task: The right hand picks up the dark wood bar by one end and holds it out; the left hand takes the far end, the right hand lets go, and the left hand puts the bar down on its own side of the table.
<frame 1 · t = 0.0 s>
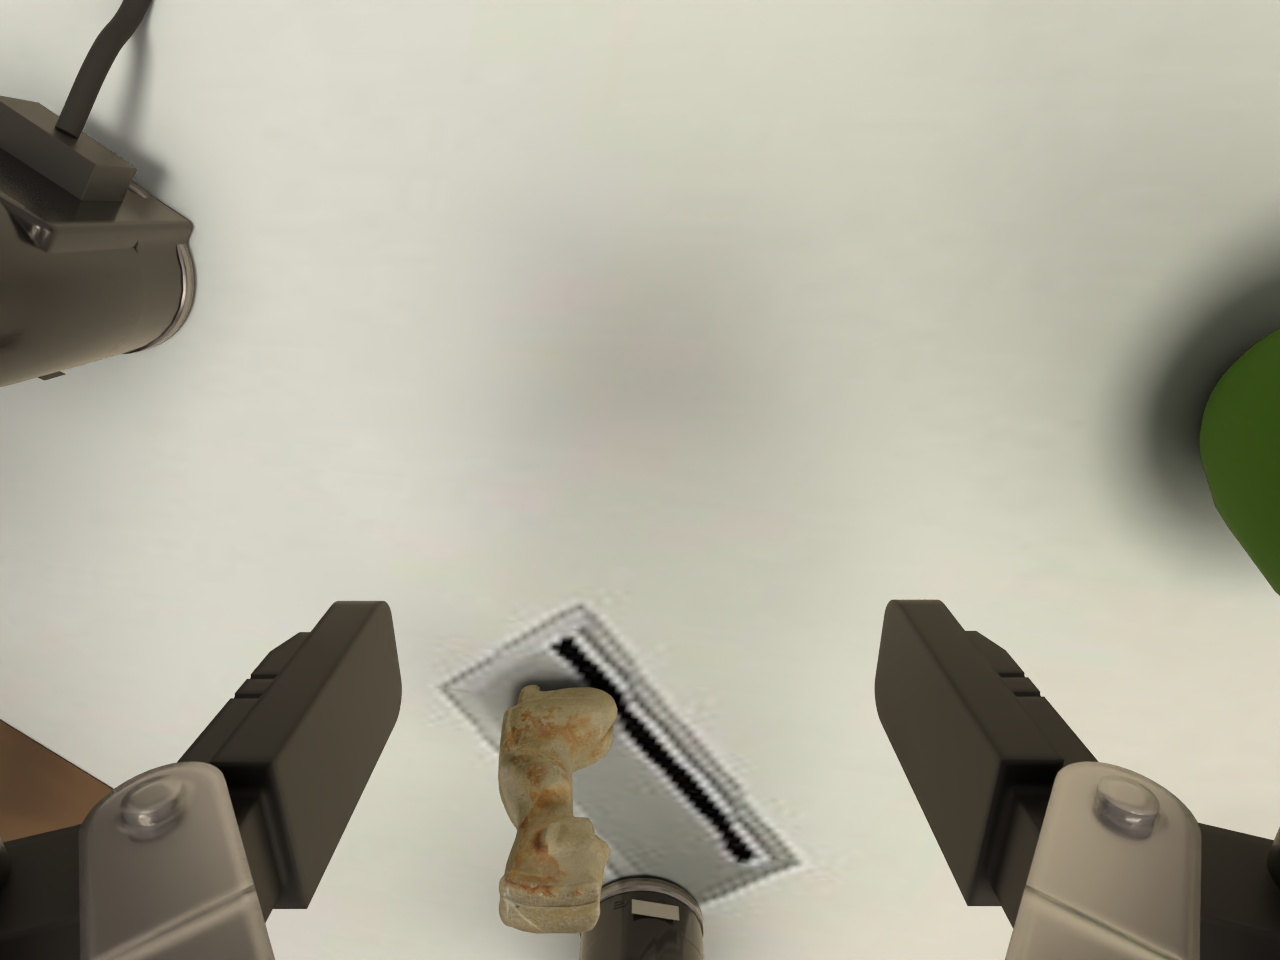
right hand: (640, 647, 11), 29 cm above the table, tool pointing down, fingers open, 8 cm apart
vase: (1271, 405, 40), on the table
sculpture: (563, 703, 48), on the table
bar: (21, 765, 49), on the table
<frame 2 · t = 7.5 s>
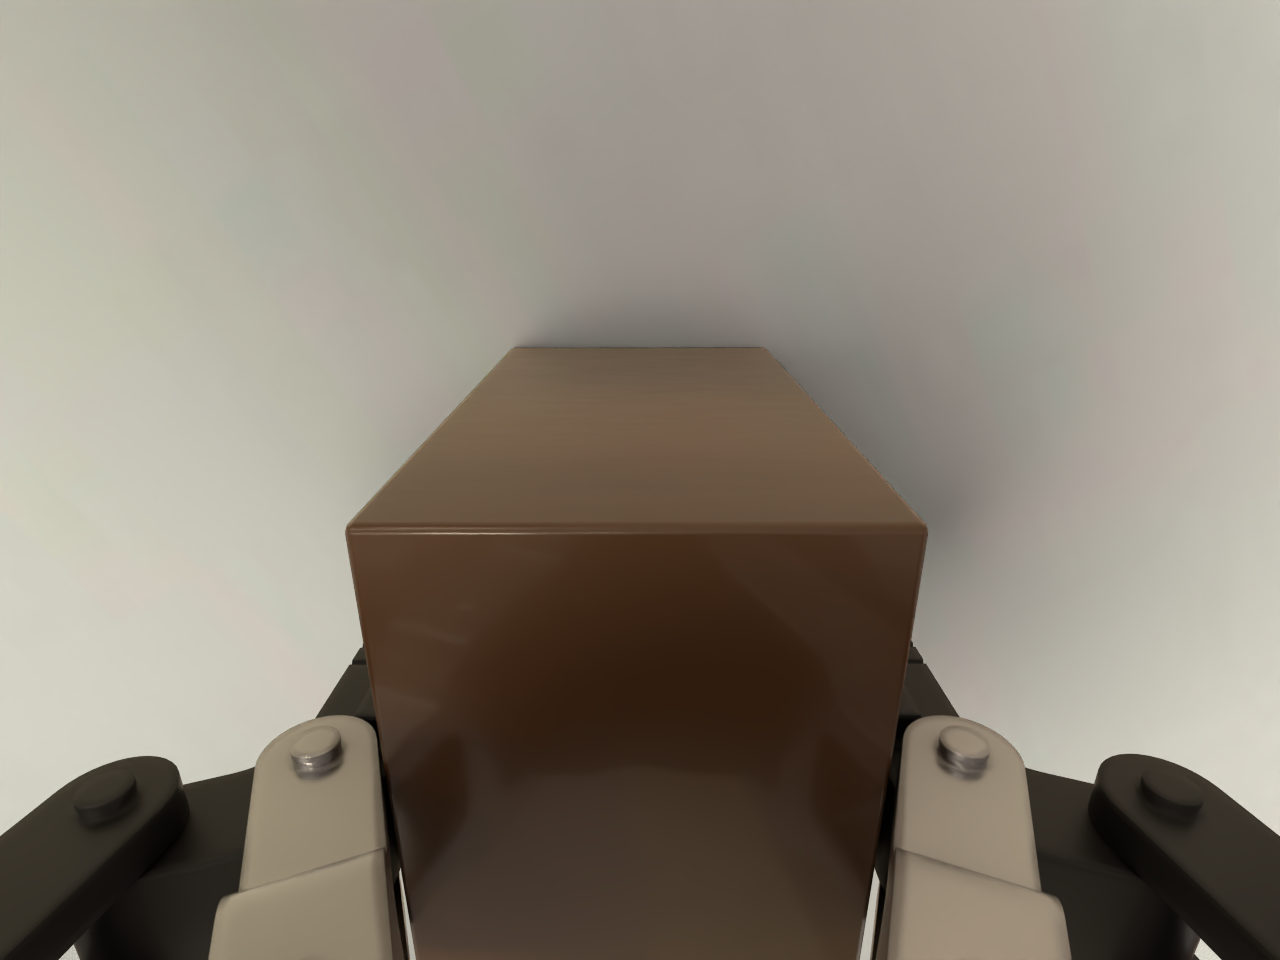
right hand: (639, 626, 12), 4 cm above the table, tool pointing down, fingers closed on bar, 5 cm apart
bar: (639, 780, 19), on the table, touching right hand
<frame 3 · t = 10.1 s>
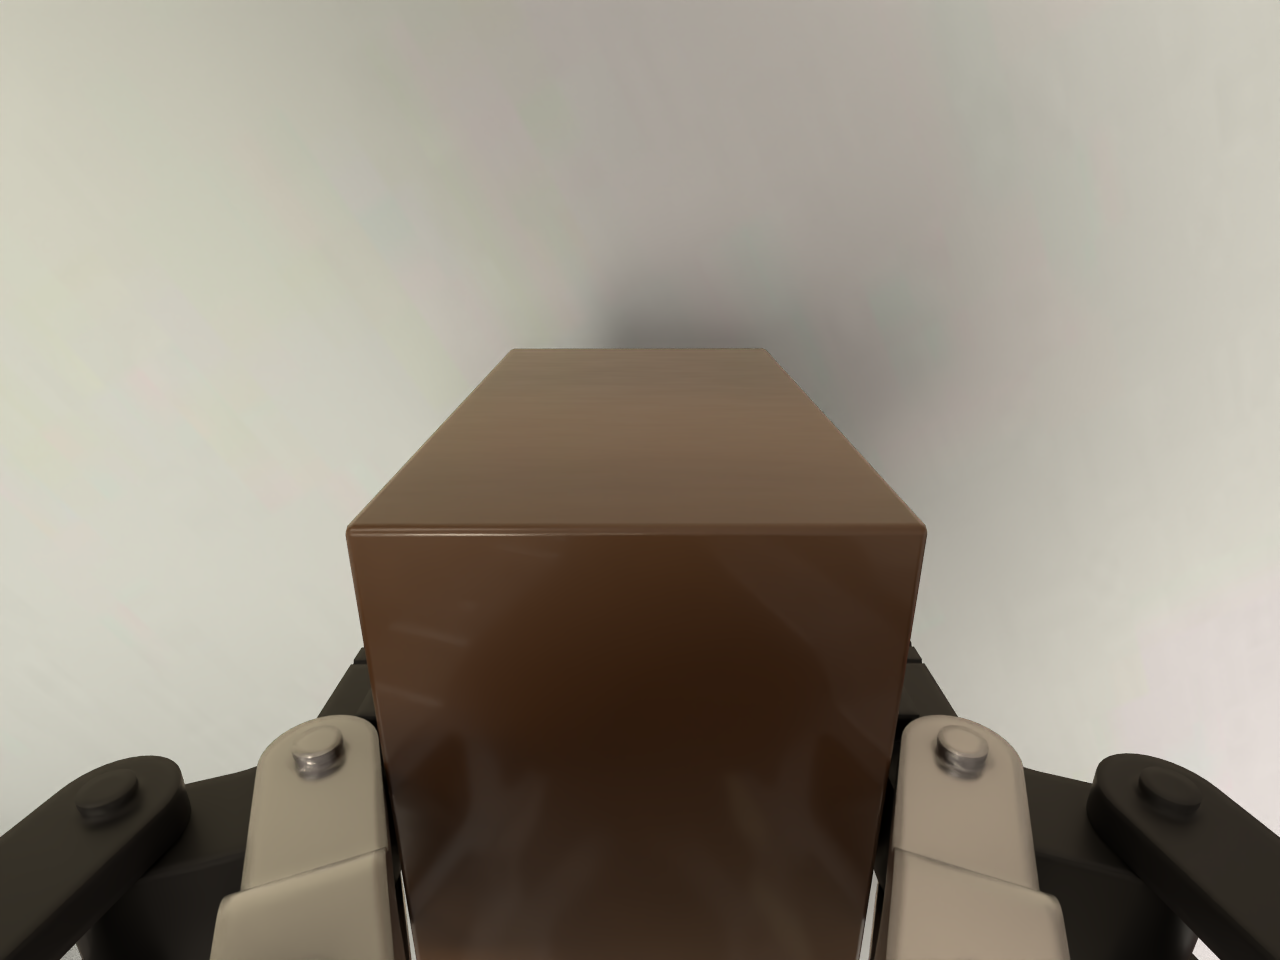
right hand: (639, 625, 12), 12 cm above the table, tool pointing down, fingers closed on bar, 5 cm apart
bar: (639, 780, 19), point 7 cm above the table, touching right hand
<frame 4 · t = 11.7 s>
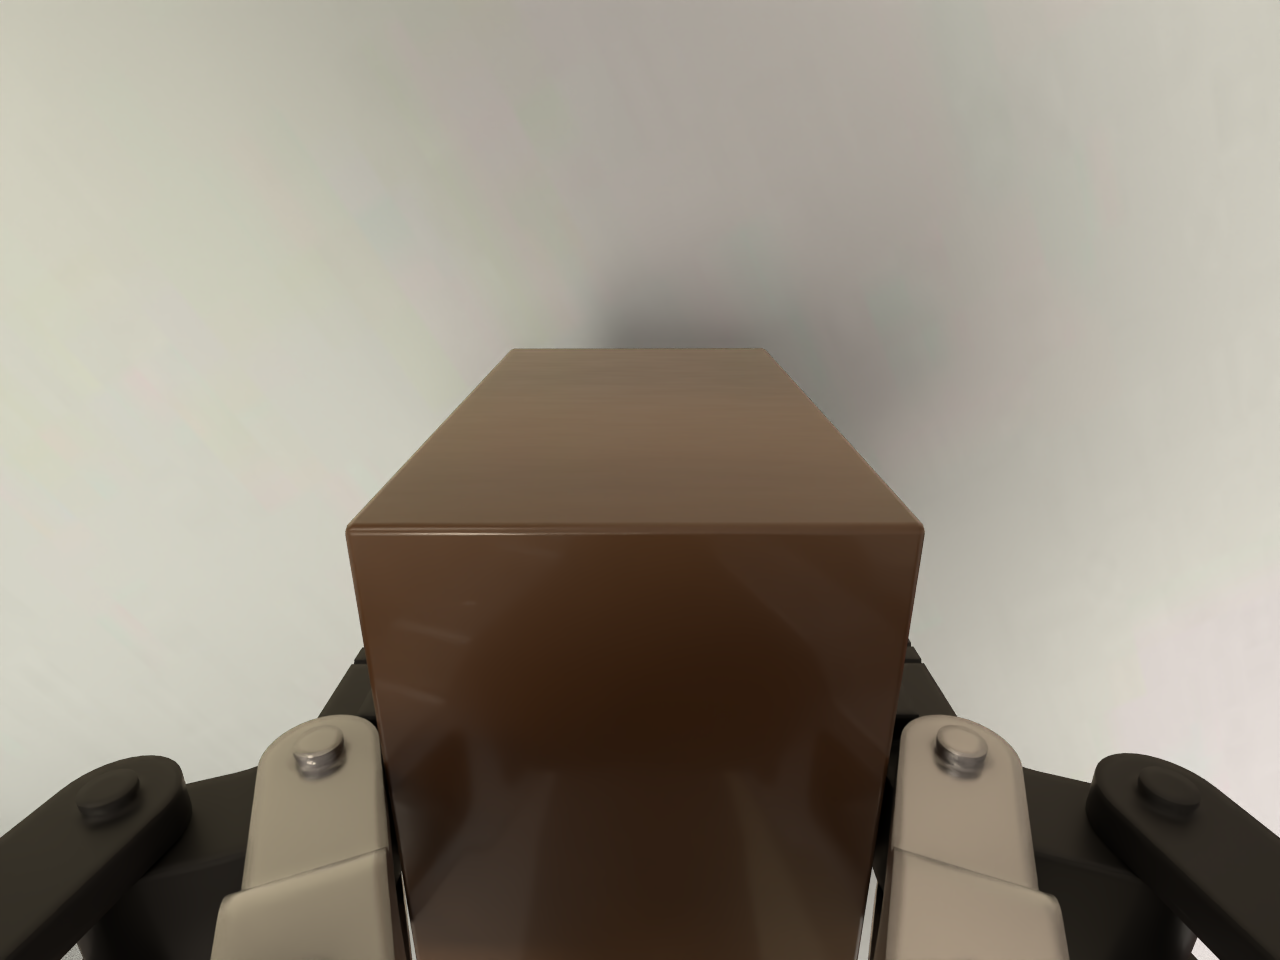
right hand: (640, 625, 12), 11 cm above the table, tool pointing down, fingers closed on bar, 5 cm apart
bar: (639, 779, 19), point 7 cm above the table, touching right hand, left hand
when the right hand's fingers open (12 cm above the table, at t = 12.6 s): bar stays where it is, held by the left hand.
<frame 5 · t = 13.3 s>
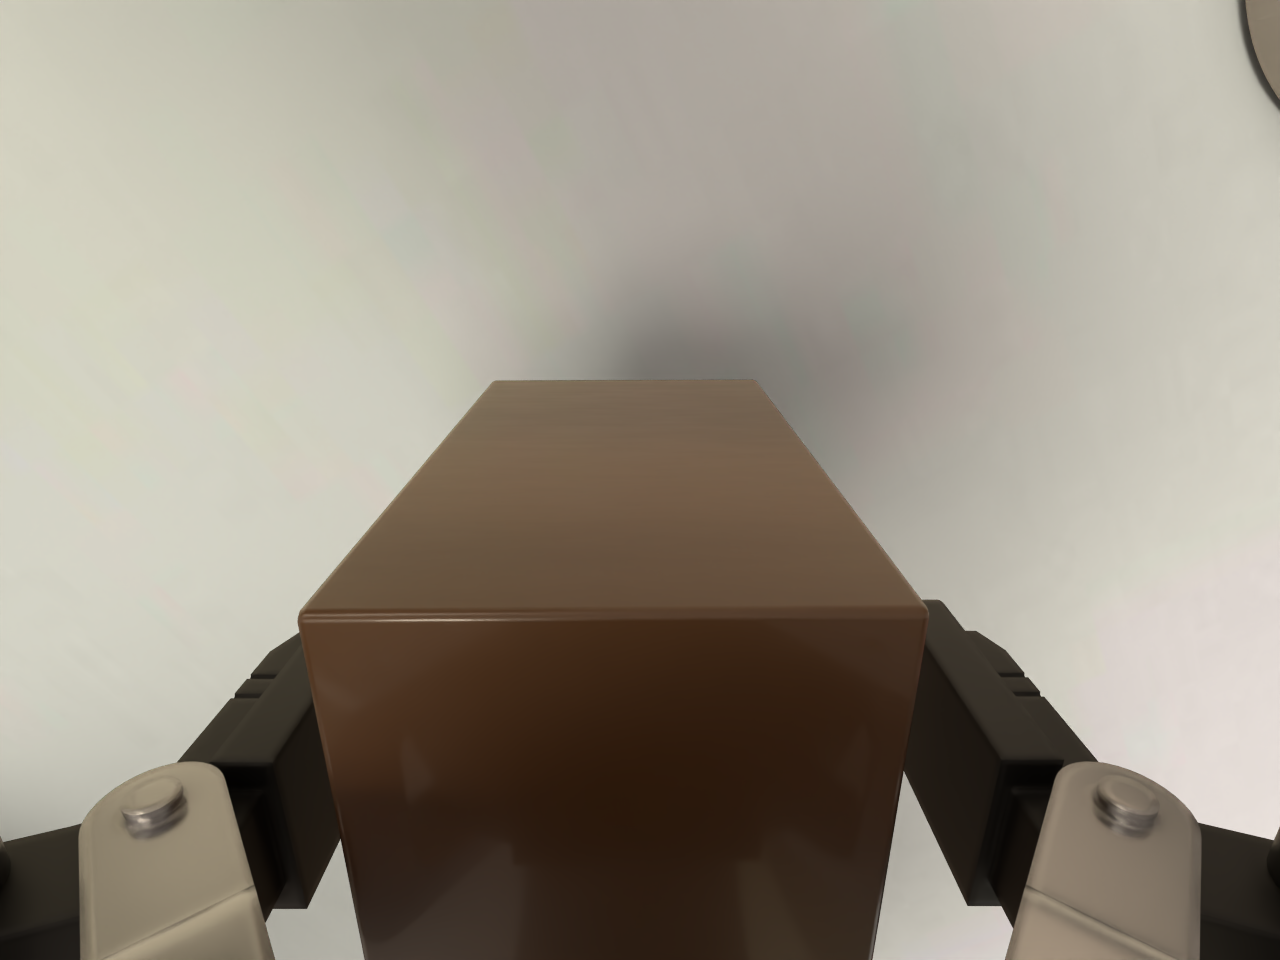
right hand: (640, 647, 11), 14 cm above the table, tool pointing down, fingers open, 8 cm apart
bar: (628, 818, 18), point 10 cm above the table, touching left hand
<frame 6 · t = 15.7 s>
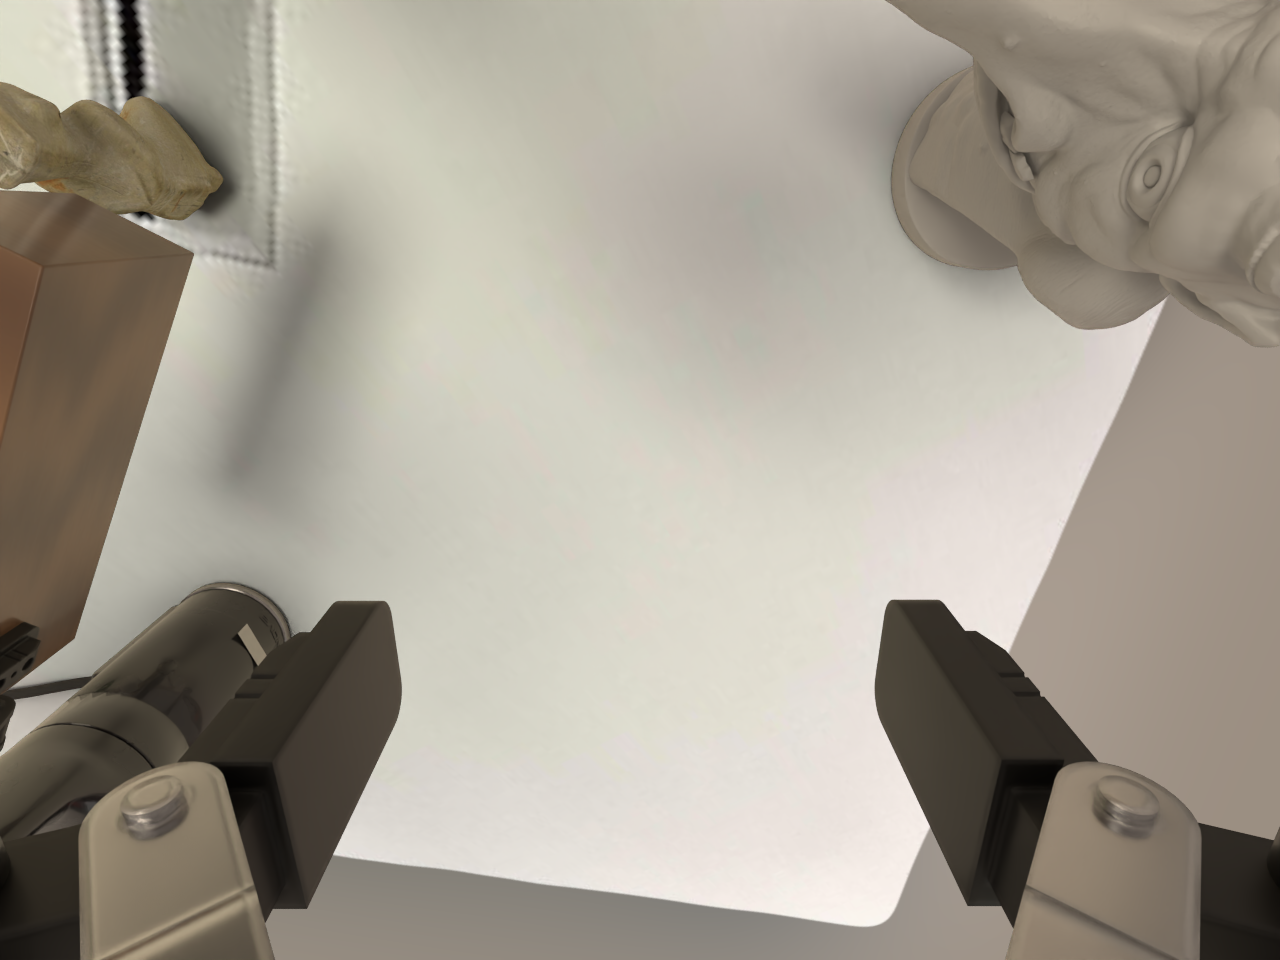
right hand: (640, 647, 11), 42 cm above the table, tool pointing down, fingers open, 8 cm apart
bust sculpture: (928, 165, 47), on the table
sculpture: (181, 162, 47), on the table
bar: (75, 441, 35), point 18 cm above the table, touching left hand
when the left hand's fingers open (5 cm above the table, at t = 20.3 s): bar stays where it is, on the table.
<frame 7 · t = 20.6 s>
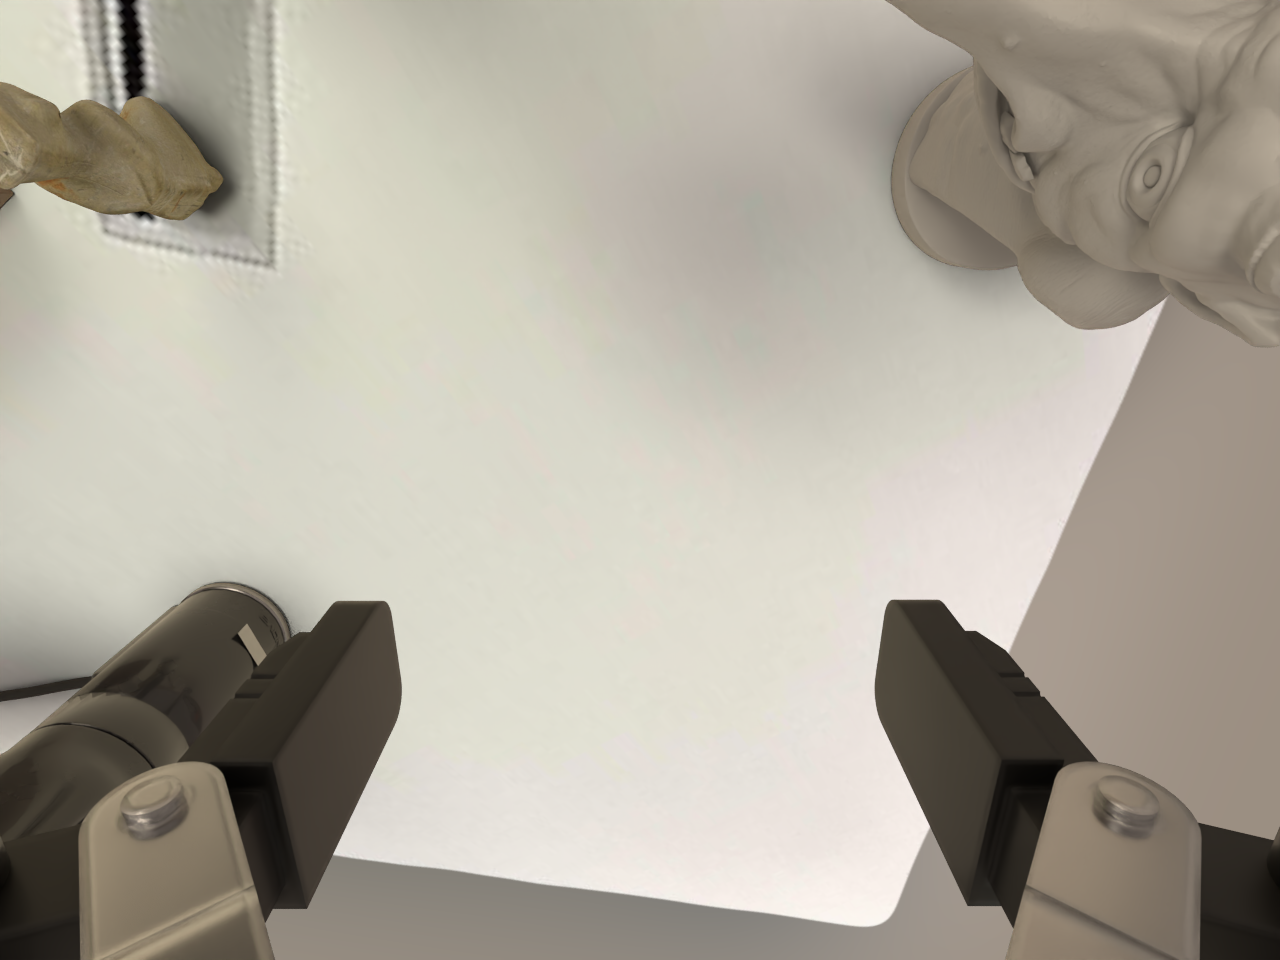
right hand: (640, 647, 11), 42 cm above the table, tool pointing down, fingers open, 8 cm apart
bust sculpture: (928, 165, 47), on the table
sculpture: (181, 162, 47), on the table
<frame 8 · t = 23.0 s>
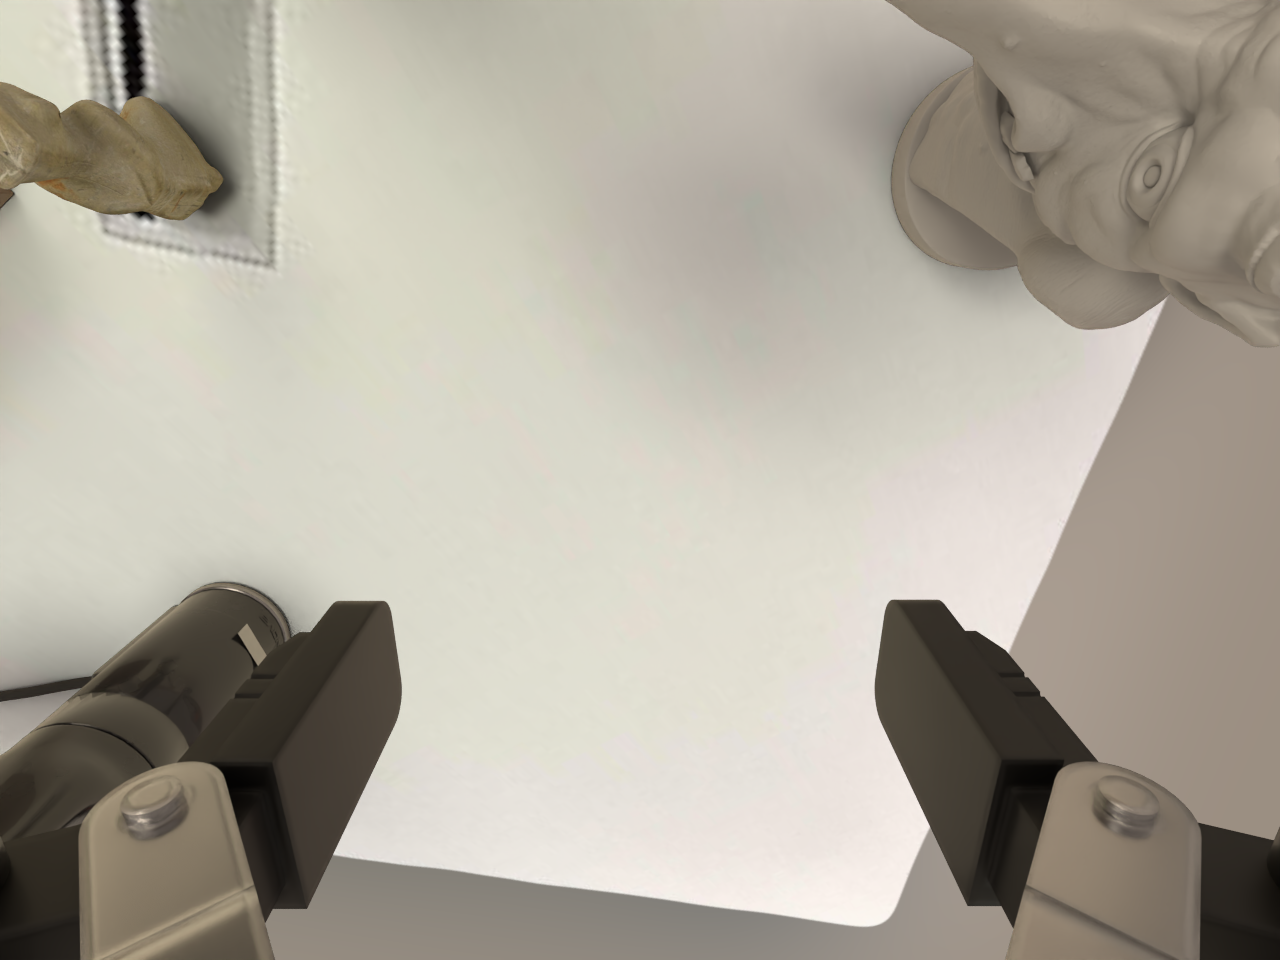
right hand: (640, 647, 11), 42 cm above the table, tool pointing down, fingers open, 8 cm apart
bust sculpture: (928, 165, 47), on the table
sculpture: (181, 162, 47), on the table
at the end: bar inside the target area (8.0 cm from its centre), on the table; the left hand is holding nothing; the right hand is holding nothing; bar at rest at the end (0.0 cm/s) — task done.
